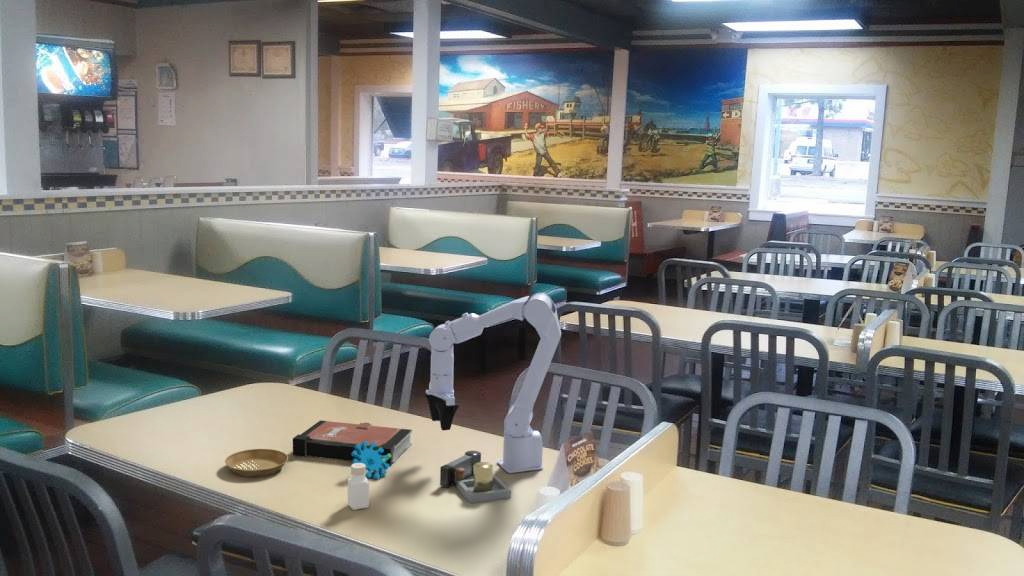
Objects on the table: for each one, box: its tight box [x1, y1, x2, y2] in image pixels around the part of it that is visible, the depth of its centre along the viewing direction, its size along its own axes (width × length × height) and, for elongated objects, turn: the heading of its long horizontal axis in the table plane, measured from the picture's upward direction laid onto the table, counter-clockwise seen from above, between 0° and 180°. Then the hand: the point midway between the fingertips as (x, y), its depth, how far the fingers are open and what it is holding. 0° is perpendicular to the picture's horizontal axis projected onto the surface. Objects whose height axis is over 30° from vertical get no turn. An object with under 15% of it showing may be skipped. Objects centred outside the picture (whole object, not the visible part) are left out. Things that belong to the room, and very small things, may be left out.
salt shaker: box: [347, 463, 370, 511], centre depth 193 cm, size 4×4×10 cm
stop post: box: [454, 468, 465, 488], centre depth 207 cm, size 2×2×4 cm
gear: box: [351, 441, 391, 480], centre depth 213 cm, size 11×6×10 cm
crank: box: [439, 450, 482, 489], centre depth 211 cm, size 14×4×5 cm, turn 148°
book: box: [292, 419, 413, 467], centre depth 229 cm, size 26×18×5 cm
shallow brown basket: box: [224, 448, 289, 478], centre depth 214 cm, size 15×15×3 cm
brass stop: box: [472, 461, 494, 493], centre depth 203 cm, size 4×4×6 cm
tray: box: [456, 475, 512, 504], centre depth 203 cm, size 10×9×2 cm
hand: (440, 425), depth 222 cm, fingers open, 7 cm apart
